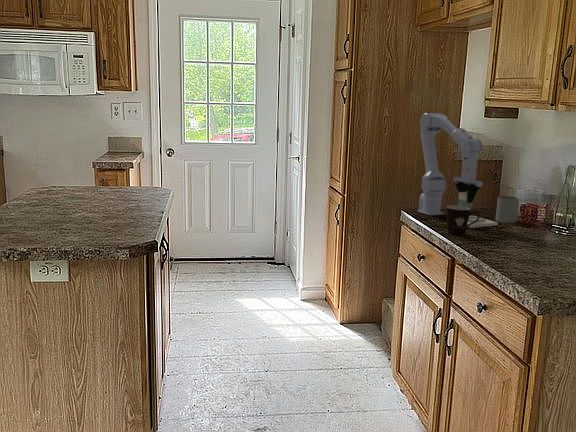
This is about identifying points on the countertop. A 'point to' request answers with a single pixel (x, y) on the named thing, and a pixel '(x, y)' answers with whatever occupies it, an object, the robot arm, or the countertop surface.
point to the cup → (507, 209)
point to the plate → (480, 222)
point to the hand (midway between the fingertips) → (466, 201)
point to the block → (463, 200)
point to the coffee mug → (458, 219)
